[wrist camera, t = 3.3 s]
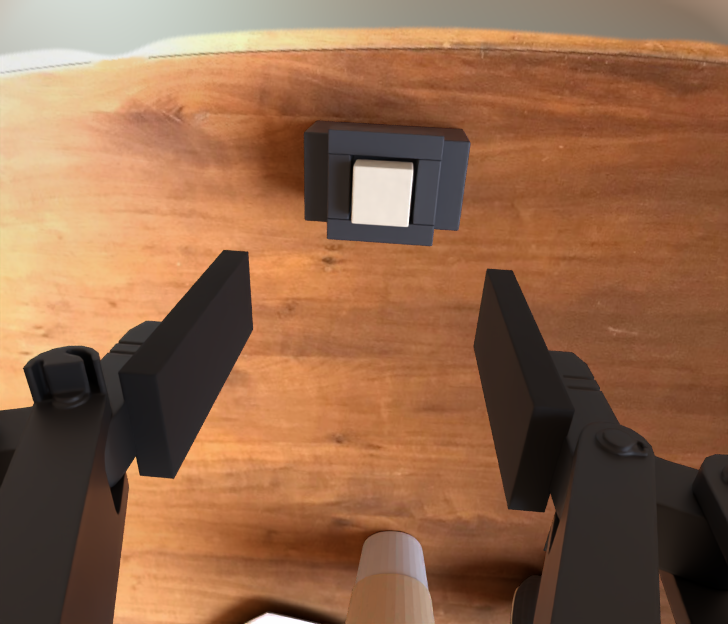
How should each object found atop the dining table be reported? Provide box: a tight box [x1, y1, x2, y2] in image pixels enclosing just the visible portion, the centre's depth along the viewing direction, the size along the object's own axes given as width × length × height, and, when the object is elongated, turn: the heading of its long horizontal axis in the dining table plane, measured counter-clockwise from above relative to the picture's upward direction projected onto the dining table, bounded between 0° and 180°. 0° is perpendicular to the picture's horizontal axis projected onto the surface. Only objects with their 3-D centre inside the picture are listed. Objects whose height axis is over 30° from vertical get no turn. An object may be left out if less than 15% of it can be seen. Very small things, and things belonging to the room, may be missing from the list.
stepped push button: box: [304, 121, 470, 246], centre depth 30 cm, size 9×6×6 cm, turn 87°
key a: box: [351, 159, 413, 227], centre depth 27 cm, size 3×3×2 cm
